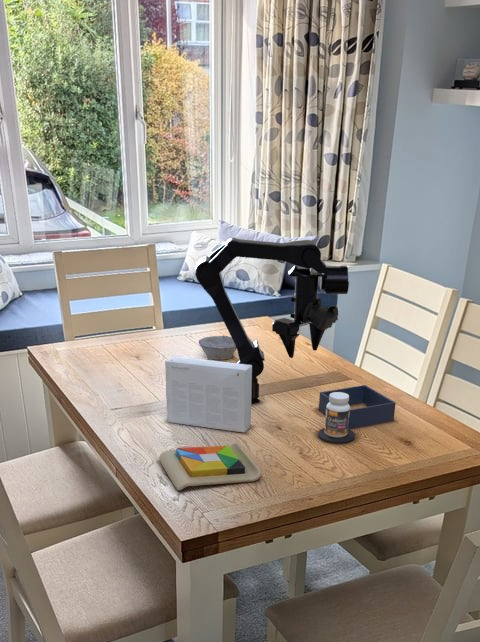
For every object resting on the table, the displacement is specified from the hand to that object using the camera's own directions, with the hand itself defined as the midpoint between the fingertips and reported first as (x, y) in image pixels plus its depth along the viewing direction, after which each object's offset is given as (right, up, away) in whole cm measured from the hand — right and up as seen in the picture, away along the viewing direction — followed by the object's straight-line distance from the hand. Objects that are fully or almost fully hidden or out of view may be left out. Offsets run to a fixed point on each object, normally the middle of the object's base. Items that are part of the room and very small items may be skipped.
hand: (303, 353), depth 197 cm
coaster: (+7, -23, -14) cm, 28 cm away
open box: (+13, -16, -2) cm, 21 cm away
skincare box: (-24, -19, -8) cm, 32 cm away
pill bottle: (+7, -23, -14) cm, 28 cm away
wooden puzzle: (-23, -32, -31) cm, 50 cm away
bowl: (-23, +7, +39) cm, 46 cm away
